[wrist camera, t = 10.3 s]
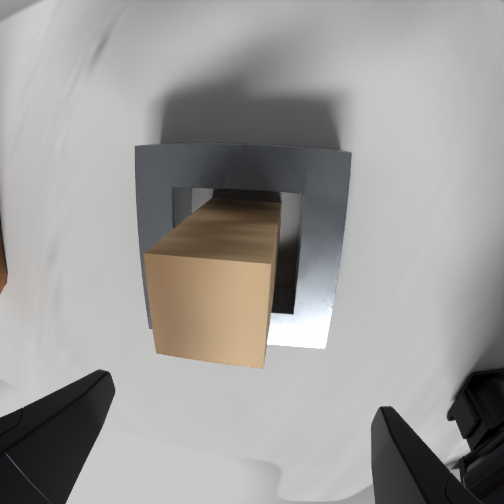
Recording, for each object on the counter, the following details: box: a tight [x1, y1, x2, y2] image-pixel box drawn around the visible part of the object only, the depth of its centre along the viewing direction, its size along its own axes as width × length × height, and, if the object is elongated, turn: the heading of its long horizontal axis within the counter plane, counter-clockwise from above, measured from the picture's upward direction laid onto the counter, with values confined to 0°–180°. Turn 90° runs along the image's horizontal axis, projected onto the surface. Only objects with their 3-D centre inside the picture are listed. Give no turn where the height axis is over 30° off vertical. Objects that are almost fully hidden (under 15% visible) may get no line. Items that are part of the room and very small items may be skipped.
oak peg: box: [144, 198, 282, 368], centre depth 16 cm, size 4×4×10 cm
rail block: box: [135, 143, 352, 348], centre depth 19 cm, size 11×12×4 cm
